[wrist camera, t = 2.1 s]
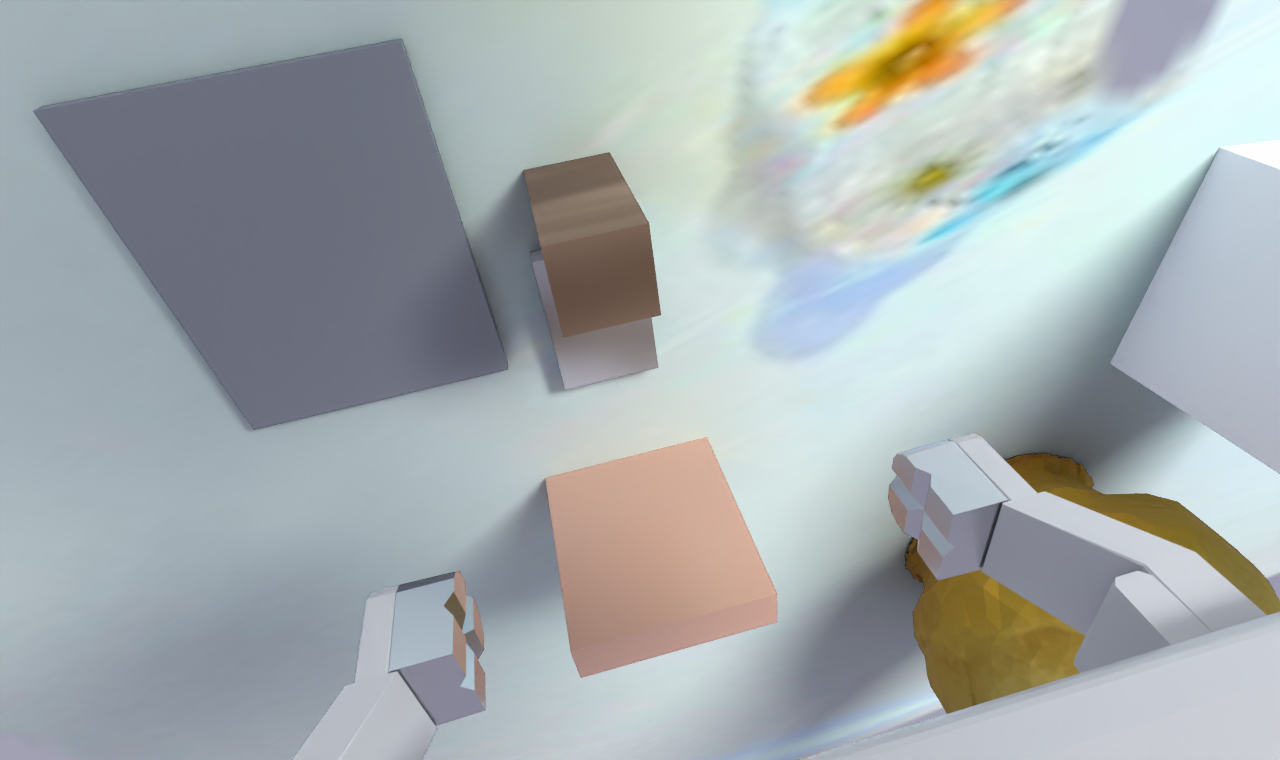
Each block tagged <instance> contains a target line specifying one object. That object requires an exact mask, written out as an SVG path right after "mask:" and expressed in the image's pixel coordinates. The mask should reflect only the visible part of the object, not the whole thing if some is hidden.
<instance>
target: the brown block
mask: <svg viewBox="0 0 1280 760" xmlns="http://www.w3.org/2000/svg"><path fill="white" fill-rule="evenodd" d="M523 171H524V175H525V180H526V184H527V189H528V193H529V198H530V202H531V207H532V211H533V216H534V220H535V225H536V229H537V234H538V238H539V243H540V247H541V250H539V251H534V252H530V257H531V262H532V266H533V270H534V274H535V277H536V281H537V285H538V289H539V292H540V296H541V300H542V304H543V308H544V311H545V315H546V319H547V323H548V326H549V330H550V334H551V338H552V342H553V345H554V349H555V353H556V357H557V360H558V364H559V368H560V372H561V376H562V379H563V383H564V387H565V390H568V389H572V388H576V387H580V386H584V385H588V384H593V383H597V382H601V381H605V380H609V379H613V378H617V377H622V376H626V375H630V374H634V373H638V372H642V371H646V370H651V369H655V368H658V362H657V355H656V348H655V341H654V334H653V327H652V320H651V317H655V316H659V315H661V311H660V304H659V296H658V289H657V281H656V273H655V266H654V258H653V251H652V243H651V235H650V228H649V222H648V221H647V219H646V217H645V215H644V213H643V212H642V210H641V208H640V206H639V204H638V203H637V201H636V199H635V197H634V196H633V194H632V192H631V190H630V188H629V187H628V185H627V183H626V181H625V179H624V178H623V176H622V174H621V172H620V170H619V169H618V167H617V165H616V163H615V162H614V160H613V158H612V156H611V154H610V153H609V152H608V153H604V154H599V155H594V156H589V157H585V158H580V159H575V160H570V161H565V162H561V163H556V164H551V165H546V166H542V167H537V168H532V169H527V170H523Z"/></svg>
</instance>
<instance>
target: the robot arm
mask: <svg viewBox="0 0 1280 760" xmlns="http://www.w3.org/2000/svg"><path fill="white" fill-rule="evenodd" d="M892 469H893V471H894V472H895V473H896V475H897V477H896V478H895V479H894V480H893V481H892V482H891V484H890V485H889V494H888V499H889V503H890V507H891V512H892V514H893V516H894V518H895V520H896V522H897V523H898V525H899V526H900V528H901V529H902V531H903V532H904V533H905V534H907V535H909V536H911V537H913V538H915V539H917V540H918V547H917V552H918V554H919V555H920V556H921V558H922V559H923V561H924V562H925V563H926V565H927V566H928V568H929V569H930V570H931V572H932V573H933V575H934V576H935V577H936V579H937V580H942V579H946V578H949V577H953V576H957V575H961V574H965V573H969V572H973V571H977V570H981V569H982V571H981V572H983V573H984V574H986V575H988V576H989V577H991V578H993V579H994V580H996V581H997V582H999V583H1001V584H1002V585H1004V586H1005V587H1007V588H1009V589H1010V590H1012V591H1014V592H1015V593H1017V594H1018V595H1020V596H1022V597H1023V598H1025V599H1027V600H1028V601H1030V602H1031V603H1033V604H1035V605H1036V606H1038V607H1040V608H1041V609H1043V610H1044V611H1046V612H1048V613H1049V614H1051V615H1053V616H1054V617H1056V618H1057V619H1059V620H1061V621H1062V622H1064V623H1065V624H1067V625H1069V626H1070V627H1072V628H1074V629H1075V630H1077V631H1078V632H1080V633H1082V634H1083V635H1085V638H1084V640H1083V642H1082V643H1081V645H1080V647H1079V649H1078V651H1077V653H1076V655H1075V659H1074V663H1073V664H1074V666H1075V667H1076V668H1077V669H1078V671H1079V672H1080V673H1079V674H1075V675H1072V676H1069V677H1066V678H1062V679H1059V680H1056V681H1053V682H1049V683H1046V684H1043V685H1040V686H1036V687H1033V688H1030V689H1027V690H1023V691H1020V692H1017V693H1014V694H1010V695H1007V696H1004V697H1001V698H997V699H994V700H991V701H988V702H984V703H981V704H978V705H975V706H971V707H968V708H965V709H962V710H958V711H955V712H952V713H949V714H945V715H942V716H939V717H936V718H932V719H929V720H926V721H922V722H919V723H916V724H913V725H909V726H906V727H903V728H900V729H897V730H894V731H890V732H887V733H883V734H880V735H877V736H874V737H870V738H867V739H864V740H861V741H857V742H854V743H851V744H848V745H844V746H841V747H838V748H835V749H831V750H828V751H825V752H822V753H818V754H815V755H812V756H809V757H805V758H802V759H799V760H1280V612H1277V613H1274V614H1271V615H1266V614H1265V613H1264V612H1263V611H1262V610H1261V609H1260V608H1258V607H1257V606H1256V605H1255V604H1254V603H1253V602H1252V601H1250V600H1249V599H1248V598H1247V597H1246V596H1245V595H1244V594H1243V593H1241V592H1240V591H1239V590H1238V589H1237V588H1236V587H1235V586H1233V585H1232V584H1231V583H1230V582H1229V581H1228V580H1227V579H1226V578H1224V577H1223V576H1222V575H1221V574H1220V573H1219V572H1218V571H1216V570H1215V569H1214V568H1213V567H1212V566H1211V565H1210V564H1209V563H1207V562H1206V561H1205V560H1204V559H1203V558H1202V557H1201V556H1199V555H1198V554H1197V553H1196V552H1194V551H1192V550H1189V549H1187V548H1184V547H1182V546H1179V545H1177V544H1174V543H1172V542H1169V541H1167V540H1165V539H1162V538H1160V537H1157V536H1155V535H1152V534H1150V533H1147V532H1145V531H1142V530H1140V529H1137V528H1135V527H1132V526H1130V525H1127V524H1125V523H1122V522H1120V521H1117V520H1115V519H1112V518H1110V517H1108V516H1105V515H1103V514H1100V513H1098V512H1095V511H1093V510H1090V509H1088V508H1085V507H1083V506H1080V505H1078V504H1075V503H1073V502H1070V501H1068V500H1065V499H1063V498H1060V497H1058V496H1055V495H1053V494H1051V493H1048V492H1046V491H1044V492H1040V493H1037V492H1036V491H1035V490H1034V489H1033V488H1032V487H1031V486H1030V485H1029V484H1028V483H1027V482H1026V481H1025V480H1024V479H1023V478H1022V477H1021V476H1020V475H1019V474H1018V473H1017V472H1016V471H1015V470H1014V469H1013V468H1012V467H1011V466H1010V465H1009V464H1008V463H1007V462H1006V461H1005V460H1004V459H1003V458H1002V457H1001V456H1000V455H999V454H998V453H997V452H996V451H995V450H994V449H993V448H992V447H991V446H990V445H989V444H988V443H987V442H986V441H985V440H984V439H983V438H982V437H981V436H980V435H977V434H975V433H971V434H968V435H964V436H960V437H956V438H953V439H949V440H947V441H946V440H943V441H940V442H936V443H932V444H929V445H925V446H922V447H918V448H915V449H911V450H907V451H904V452H900V453H897V455H896V456H895V457H894V458H893V464H892ZM483 650H484V637H483V629H482V623H481V617H480V614H479V610H478V607H477V605H476V603H475V600H474V598H473V597H471V596H469V595H466V583H465V580H464V579H463V577H462V575H461V573H460V572H459V571H456V572H452V573H448V574H443V575H439V576H435V577H431V578H427V579H422V580H418V581H414V582H410V583H406V584H401V585H398V586H394V587H390V588H386V589H382V590H378V591H374V592H370V594H369V596H368V598H367V600H366V602H365V608H364V615H363V622H362V629H361V636H360V643H359V650H358V658H357V665H356V672H355V679H354V683H351V684H348V685H345V686H344V688H343V689H342V690H341V692H340V693H339V695H338V696H337V697H336V699H335V700H334V702H333V703H332V704H331V706H330V707H329V709H328V710H327V711H326V713H325V714H324V716H323V717H322V718H321V720H320V721H319V723H318V724H317V725H316V727H315V728H314V730H313V731H312V732H311V734H310V735H309V737H308V738H307V739H306V741H305V742H304V744H303V745H302V746H301V748H300V749H299V751H298V752H297V753H296V755H295V756H294V758H293V759H292V760H422V759H423V757H424V755H425V753H426V751H427V749H428V747H429V745H430V743H431V741H432V738H433V736H434V734H435V732H436V730H437V727H436V726H437V725H440V724H443V723H446V722H449V721H452V720H456V719H459V718H462V717H465V716H468V715H471V714H475V713H478V712H481V711H484V710H486V703H485V673H484V671H483V669H482V667H481V665H480V663H479V661H478V659H479V657H480V655H481V654H482V652H483Z"/></svg>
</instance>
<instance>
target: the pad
mask: <svg viewBox="0 0 1280 760" xmlns="http://www.w3.org/2000/svg"><path fill="white" fill-rule="evenodd" d="M33 112H34V113H35V115H36V116H37V117H38V119H39V120H40V122H41V123H42V125H43V126H44V128H45V129H46V131H47V132H48V133H49V135H50V136H51V138H52V139H53V141H54V142H55V144H56V145H57V146H58V148H59V149H60V151H61V152H62V154H63V155H64V157H65V158H66V159H67V161H68V162H69V164H70V165H71V167H72V168H73V170H74V171H75V172H76V174H77V175H78V177H79V178H80V180H81V181H82V183H83V184H84V185H85V187H86V188H87V190H88V191H89V193H90V194H91V196H92V197H93V198H94V200H95V201H96V203H97V204H98V206H99V207H100V209H101V210H102V211H103V213H104V214H105V216H106V217H107V219H108V220H109V222H110V223H111V224H112V226H113V227H114V229H115V230H116V232H117V233H118V235H119V236H120V237H121V239H122V240H123V242H124V243H125V245H126V246H127V248H128V249H129V250H130V252H131V253H132V255H133V256H134V258H135V259H136V261H137V262H138V263H139V265H140V266H141V268H142V269H143V271H144V272H145V274H146V275H147V277H148V278H149V279H150V281H151V282H152V284H153V285H154V287H155V288H156V290H157V291H158V292H159V294H160V295H161V297H162V298H163V300H164V301H165V303H166V304H167V305H168V307H169V308H170V310H171V311H172V313H173V314H174V316H175V317H176V318H177V320H178V321H179V323H180V324H181V326H182V327H183V329H184V330H185V331H186V333H187V334H188V336H189V337H190V339H191V340H192V342H193V343H194V344H195V346H196V347H197V349H198V350H199V352H200V353H201V355H202V356H203V357H204V359H205V360H206V362H207V363H208V365H209V366H210V368H211V369H212V370H213V372H214V373H215V375H216V376H217V378H218V379H219V381H220V382H221V383H222V385H223V386H224V388H225V389H226V391H227V392H228V394H229V395H230V396H231V398H232V399H233V401H234V402H235V404H236V405H237V407H238V408H239V410H240V411H241V412H242V414H243V415H244V417H245V418H246V420H247V421H248V423H249V424H250V425H251V427H252V428H253V430H256V429H260V428H264V427H268V426H272V425H277V424H281V423H285V422H289V421H293V420H298V419H302V418H306V417H310V416H315V415H319V414H323V413H327V412H331V411H336V410H340V409H344V408H348V407H352V406H357V405H361V404H365V403H369V402H374V401H378V400H382V399H386V398H390V397H395V396H399V395H403V394H407V393H411V392H416V391H420V390H424V389H428V388H432V387H437V386H441V385H445V384H449V383H454V382H458V381H462V380H466V379H470V378H475V377H479V376H483V375H487V374H491V373H496V372H500V371H504V370H508V362H507V359H506V356H505V353H504V350H503V347H502V344H501V341H500V338H499V335H498V332H497V329H496V326H495V323H494V319H493V316H492V313H491V310H490V307H489V304H488V301H487V298H486V295H485V292H484V289H483V286H482V283H481V280H480V276H479V273H478V270H477V267H476V264H475V261H474V258H473V255H472V252H471V249H470V246H469V243H468V240H467V237H466V234H465V230H464V227H463V224H462V221H461V218H460V215H459V212H458V209H457V206H456V203H455V200H454V197H453V194H452V191H451V188H450V184H449V181H448V178H447V175H446V172H445V169H444V166H443V163H442V160H441V157H440V154H439V151H438V148H437V145H436V141H435V138H434V135H433V132H432V129H431V126H430V123H429V120H428V117H427V114H426V111H425V108H424V105H423V102H422V99H421V95H420V92H419V89H418V86H417V83H416V80H415V77H414V74H413V71H412V68H411V65H410V62H409V59H408V56H407V52H406V49H405V46H404V43H403V40H402V39H397V40H392V41H387V42H382V43H376V44H371V45H366V46H360V47H355V48H350V49H344V50H339V51H334V52H328V53H323V54H318V55H312V56H307V57H302V58H297V59H291V60H286V61H281V62H275V63H270V64H265V65H259V66H254V67H249V68H243V69H238V70H233V71H227V72H222V73H217V74H211V75H206V76H201V77H196V78H190V79H185V80H180V81H174V82H169V83H164V84H158V85H153V86H148V87H142V88H137V89H132V90H126V91H121V92H116V93H110V94H105V95H100V96H95V97H89V98H84V99H79V100H73V101H68V102H63V103H57V104H52V105H47V106H42V107H40V108H38V109H36V110H34V111H33Z"/></svg>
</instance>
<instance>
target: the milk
mask: <svg viewBox="0 0 1280 760" xmlns="http://www.w3.org/2000/svg"><path fill="white" fill-rule="evenodd" d="M1110 364H1111V365H1113V366H1114V367H1116V368H1117V369H1119V370H1121V371H1122V372H1124V373H1125V374H1127V375H1128V376H1130V377H1131V378H1133V379H1134V380H1136V381H1137V382H1139V383H1141V384H1142V385H1144V386H1145V387H1147V388H1148V389H1150V390H1151V391H1153V392H1154V393H1156V394H1157V395H1159V396H1161V397H1162V398H1164V399H1165V400H1167V401H1168V402H1170V403H1171V404H1173V405H1174V406H1176V407H1178V408H1179V409H1181V410H1182V411H1184V412H1185V413H1187V414H1188V415H1190V416H1191V417H1193V418H1194V419H1196V420H1198V421H1199V422H1201V423H1202V424H1204V425H1205V426H1207V427H1208V428H1210V429H1211V430H1213V431H1214V432H1216V433H1218V434H1219V435H1221V436H1222V437H1224V438H1225V439H1227V440H1228V441H1230V442H1231V443H1233V444H1235V445H1236V446H1238V447H1239V448H1241V449H1242V450H1244V451H1245V452H1247V453H1248V454H1250V455H1251V456H1253V457H1255V458H1256V459H1258V460H1259V461H1261V462H1262V463H1264V464H1265V465H1267V466H1268V467H1270V468H1271V469H1273V470H1275V471H1276V472H1278V473H1279V474H1280V140H1276V141H1268V142H1260V143H1252V144H1243V145H1235V146H1227V147H1220V148H1219V150H1218V152H1217V154H1216V156H1215V158H1214V160H1213V162H1212V164H1211V166H1210V168H1209V170H1208V172H1207V174H1206V176H1205V178H1204V180H1203V182H1202V184H1201V186H1200V188H1199V189H1198V191H1197V193H1196V195H1195V197H1194V199H1193V201H1192V203H1191V205H1190V207H1189V209H1188V211H1187V213H1186V215H1185V217H1184V219H1183V221H1182V223H1181V225H1180V227H1179V229H1178V231H1177V233H1176V235H1175V237H1174V239H1173V241H1172V243H1171V245H1170V247H1169V248H1168V250H1167V252H1166V254H1165V256H1164V258H1163V260H1162V262H1161V264H1160V266H1159V268H1158V270H1157V272H1156V274H1155V276H1154V278H1153V280H1152V282H1151V284H1150V286H1149V288H1148V290H1147V292H1146V294H1145V296H1144V298H1143V300H1142V302H1141V304H1140V305H1139V307H1138V309H1137V311H1136V313H1135V315H1134V317H1133V319H1132V321H1131V323H1130V325H1129V327H1128V329H1127V331H1126V333H1125V335H1124V337H1123V339H1122V341H1121V343H1120V345H1119V347H1118V349H1117V351H1116V353H1115V355H1114V357H1113V359H1112V361H1111V362H1110Z"/></svg>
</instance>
